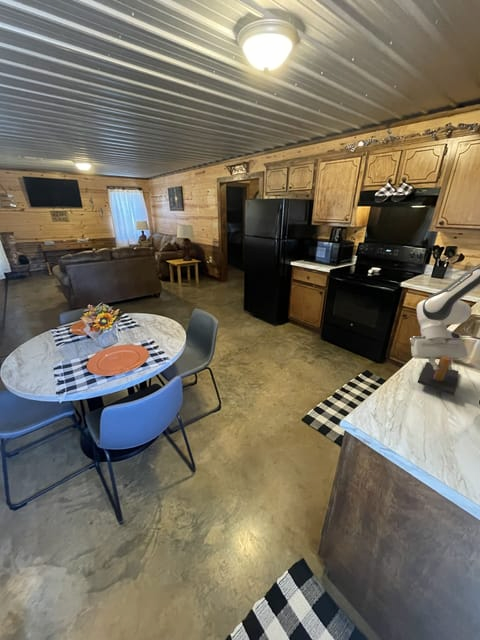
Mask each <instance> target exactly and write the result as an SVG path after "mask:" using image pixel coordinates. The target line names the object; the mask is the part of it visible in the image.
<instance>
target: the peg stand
mask: <svg viewBox="0 0 480 640" xmlns="http://www.w3.org/2000/svg"><path fill="white" fill-rule="evenodd" d="M450 361H451V358H449V357H447V356H441V358H440V359H439V361H438V363H437V365H440V370H434V371H433V370H430V369H427V368H424V367H425V366H424V367H423V368H422V370H421V372H420V374H419V377H418V380H417V384H419V385H422V386H425V387H428V388H431V389H434V390H437V391H440V392H442V393H444V394H447V395H450V396H455V395H456V391H457V385H458V381H459V378H458V377H457V378H455V377H452V376H449V375H447V369H448V366H449V364H450Z"/></svg>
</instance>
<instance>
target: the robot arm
mask: <svg viewBox="0 0 480 640" xmlns="http://www.w3.org/2000/svg"><path fill="white" fill-rule="evenodd" d="M477 288H480V263H478V264H476V265H475V266H473V267H471V268H470V269H469V270H467V271H466V272H464V273H463V274H462V275H461V276H459V277H457V279H455V280H454V281H452V282H451V283H449V284H448V285H447V286H445V287H444V288H443V289H442V290H440V291H437V292H436V293H433V294H430V295H429V296H428V297H427V298H426V299H425V298H424V299H423V300H421V301H420V302H419V303H418V304H417V305H416V319H417V322H418V324H419V326H420V329H419V330H420V336H419V335H418V336H417V335H413V336H412V337H411V338H409V342H410V347H411V348H410V350H411V351H410V352H411V356H412V358H414V359H417V360H418V359H419V360H428V362H430V363H431V365H432V366H433V369H434V370H440V365H438V363H437V362H436V360H440V358H441V356H447V357H449V358H451V361H450V364H449V366H448V369H447V370H452V369H453V363H454V360H455V361H456V360H457V361H463V360H465V359H467V358H468V357H469V353H468V349H467V346H466V344H465V343H464V341H463V340H462V339H463V336H462V335H461V334H460V333H459V332H454V331H451V330H449V329H447V326H453V325H459V324H463V323H465V322H467V321H469V319H470V318H471V316H472V307H471V305H470V304H469V303H467V302H465V301H463V300H462V299H463V298H464V297H466V296H467V295H469V294H470V293H472V292H473V291H475V289H477Z"/></svg>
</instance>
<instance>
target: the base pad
mask: <svg viewBox="0 0 480 640" xmlns="http://www.w3.org/2000/svg"><path fill="white" fill-rule="evenodd" d="M424 368H427V369H430V370H433V371H434V369H433V366H432V365H431V363H430V362H429V361H426V362H425V365H424ZM447 375H449V376H452V377H455V378H458V376H459V370H456V369H453V368H452V370H447Z"/></svg>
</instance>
